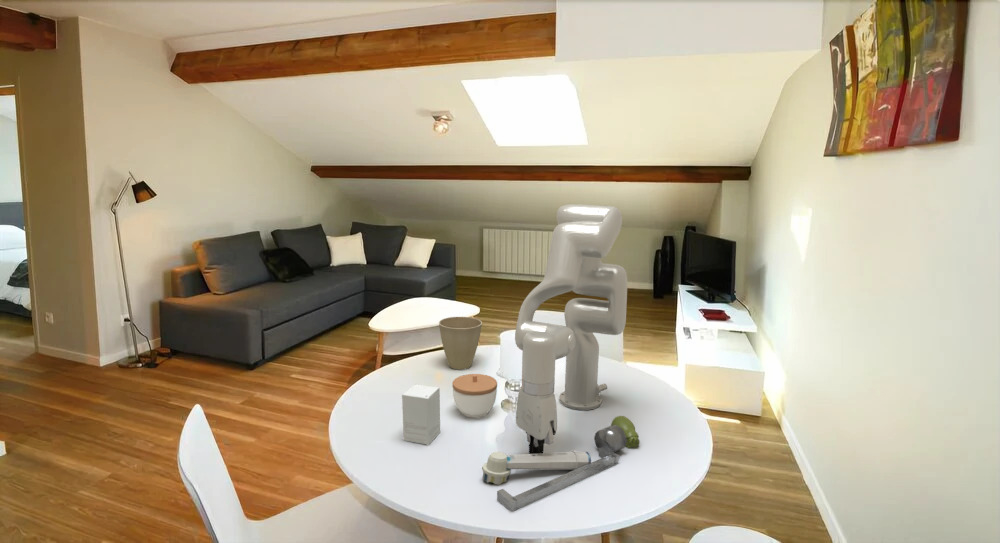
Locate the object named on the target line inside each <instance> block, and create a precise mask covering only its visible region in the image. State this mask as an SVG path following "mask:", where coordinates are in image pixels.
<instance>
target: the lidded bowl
mask: <svg viewBox="0 0 1000 543" xmlns="http://www.w3.org/2000/svg"><path fill="white" fill-rule="evenodd" d="M497 388H498V381H497V380H496V379H495V378H494V377H492V376H490V375H488V374H481V373H469V374H463V375H460V376H457V377H456V378H454V379H453V381H452V394H453V395H452V396H453V401H454V404H455V406H456V408H457V409H458V411H459V412H461V413H463V414H462V415H463V416H464V415H465V417H467V418H471V419H472V418H473V419H475V418H476V419H478V417H479V418H482V417H485V416H486V415H487V414H488V412H490V410H492V409H493V406H494V405H495V403H496V399H497V392H498V389H497Z"/></svg>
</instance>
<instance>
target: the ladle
mask: <svg viewBox="0 0 1000 543" xmlns="http://www.w3.org/2000/svg"><path fill="white" fill-rule="evenodd" d="M593 439H594V444H595V445H594V446H595V448H597V450H598V457H599V459H596V460H594V461H591V463H589V464H587V465H585V466H583V467H580V468H578V469H576V470H570V471H569V472H567V473H564V474H562V475H559V476H558V477H556V478H553V479H550V480H549V481H545V482H544V483H541V484H539V485H538V486H535V487H532V488H530V489H527V490H526V491H523V492H521V493H519V494H516V495H514V496H513V495H511V494H510V493H509V492H508V491H507V490H505V488H502V489H499V490H497V491H496V500H497V502H499V503H500V504H501V505H503V506H504V507H505V508H506V509H507V510H508V511H510V512H511V513H513V512H514V511H517V510H519V509H520V508H523V507H525V506H528V505H529V504H532V503H534V502H536V501H539V500H541V499H543V498H545V497H547V496H550V495H551V494H554V493H557V492H559V491H561V490H562V489H565V488H567V487H569V486H572V485H573V484H576V483H578V482H580V481H583V480H585V479H587V478H588V477H589V478H590V477H591V476H593V475H595V474H598V473H600V472H601V471H604V470H606V469H608V468H611V467H612V466H613V467H614V466H616V465H617V464H619V459H620V458H619V457H620V456H619V454H617V453H616V452H618V451H621V450H623V449H625V448H626V447H625V446H626V443H627V439H626V435H625V433H624V431H623V430H622V429H621V428H620V427H619V426H617V425H612V426H611V425H610V426H607V427H605V428H602V429H600V430H597V431H596V432H595V434H594V438H593Z"/></svg>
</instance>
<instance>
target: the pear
mask: <svg viewBox="0 0 1000 543" xmlns="http://www.w3.org/2000/svg"><path fill="white" fill-rule="evenodd" d="M612 425H617V426H619V427H620V428H621V429H622V430H623V431H624V433H625V435H626V439H627V443H626V446H625V448H626V449H627V448H630V447H633V448H638V447H639V445H640V439H639V437H640V436H639V434H638V432H637V431H636V427H635V424H634V422H633V421H632V420H631V419H630V418H628V417H626V416H624V415H617V416H615V417H614V418H613V419H612V421H611V424H610V426H612ZM630 449H631V448H630Z"/></svg>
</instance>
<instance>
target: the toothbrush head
mask: <svg viewBox="0 0 1000 543" xmlns="http://www.w3.org/2000/svg"><path fill="white" fill-rule="evenodd" d="M589 463H592V459H591V455H590V452H588V451H576V450H575V449H572V450H571V451H564V452H563V451H561V452H559V451H558V452H543V453H539V454H529V453H526V454H525V453H522V454H506V453H504V452H501V451H494V452H491V453H490V455H489V456H488V458H487V462H485V463H483V465H482V466H481V470H482V472H483V474H482V478H483V481H484V482H486V483H487V484H489V483H493V484H494V485H501V484H503V483H506V482H507V481H508V477H509V475H510V474H511V470H547V471H548V470H551V471H552V470H553V471H554V470H555V471H556V470H560V471H562V470H563V471H565V470H566V471H567V470H568V471H569V470H570V471H573V470H576V469H578V468H580V467H583V466H585V465H587V464H589Z"/></svg>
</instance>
